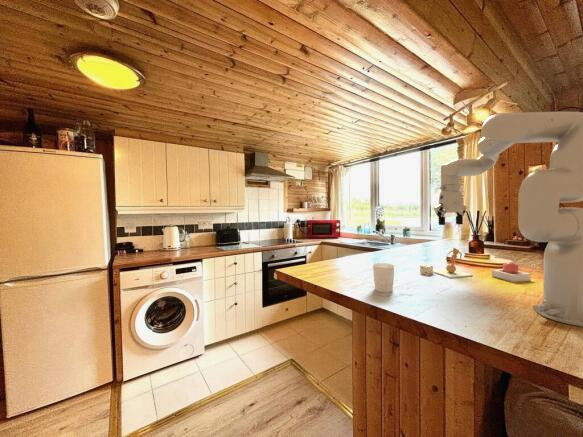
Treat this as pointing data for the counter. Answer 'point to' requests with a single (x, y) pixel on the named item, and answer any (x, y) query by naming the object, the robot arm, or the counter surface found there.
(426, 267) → the ivory die
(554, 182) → the robot arm
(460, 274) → the tile
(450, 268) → the figurine
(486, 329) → the counter surface
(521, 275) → the popper box
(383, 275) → the white cup
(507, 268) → the dome button
